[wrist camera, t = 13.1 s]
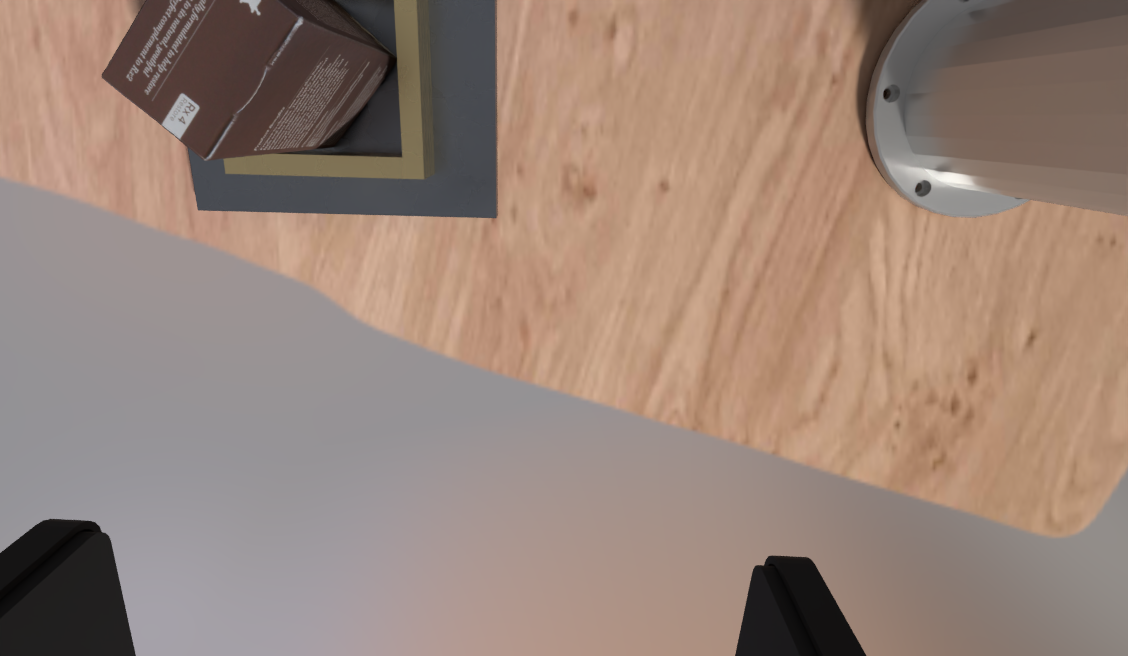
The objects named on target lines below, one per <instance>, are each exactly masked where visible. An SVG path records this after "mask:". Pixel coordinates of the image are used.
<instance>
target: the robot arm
mask: <svg viewBox="0 0 1128 656" xmlns="http://www.w3.org/2000/svg"><path fill="white" fill-rule="evenodd" d="M884 90H886V93H887V95H886V97H885V98H883V92H884ZM866 129H867V136H868V143H869V147H870V150H871V153H872V156H873V158H874V161H875V164H876V166H877V168H878V169H879V171H880V173H881V174H882V176H883V177H884V179H885V181H886V182H887V183H888V184H889V185H890V186H891V187H892V188H893V189H894V190H895V191H896V192H897V193H898V194H899V195H900V196H901V197H902V198H904V199H905V200H907V201H909V202H910V203H912V204H913V205H915V206H917V207H919V208H922V209H925V210H928V211H931V212H933V213H937V214H942V215H947V216H951V217H968V218H976V217H982V216H988V215H994V214H998V213H1001V212H1004V211H1007V210H1010V209H1013V208H1016V207H1018V206H1020V205H1022V204H1024V203H1026V202H1028V201H1030V200H1034V201H1040V202H1046V203H1052V204H1058V205H1064V206H1070V207H1076V208H1082V209H1088V210H1094V211H1100V212H1105V213H1111V214H1117V215H1123V216H1128V0H922V1H921V2H919V3H918V4H917V5H916V6H915V7H914V8H913V9H912V10H911V11H910V12H909V13H908V15H907V16H906V17H905V18H904V19H903V21H902V22H901V23H900V24H899V25H898V26H897V28H896V29H895V31H894V32H893V34H892V36H891V37H890V39H889V41H888V42H887V44H886V46H885V47H884V49H883V51H882V52H881V55H880V57H879V60H878V62H877V65H876V67H875V70H874V72H873V75H872V79H871V83H870V88H869V92H868V97H867V107H866ZM916 185H918V187H917V189H916V190H915V188H916ZM0 656H136V655H135V650H134V646H133V642H132V637H131V632H130V628H129V623H128V618H127V613H126V609H125V604H124V600H123V595H122V591H121V586H120V581H119V577H118V572H117V568H116V563H115V558H114V554H113V549H112V544H111V540H110V538H109V536H108V535H107V534H106V533H102V532H101V529H100V527H99V526H98V525H97V524H96V523H95V522H92V521H81V520H61V519H49V520H44V521H42V522H40V523H39V524H37V525H35V526H34V527H33V528H32V529H30V530H29V531H28V532H27V533H25V534H24V535H23V536H21V537H20V538H19V539H18V540H16V541H15V542H14V543H12V544H11V545H10V546H9V547H8V548H6V549H5V550H4V551H2V552H1V553H0ZM735 656H866V654H865V653H864V651H863V649H862V647H861V645H860V644H859V642H858V640H857V638H856V637H855V635H854V633H853V631H852V629H851V628H850V626H849V624H848V622H847V621H846V619H845V617H844V615H843V613H842V612H841V610H840V609H839V607H838V605H837V603H836V601H835V599H834V598H833V596H832V594H831V592H830V591H829V589H828V587H827V585H826V583H825V582H824V580H823V578H822V576H821V575H820V573H819V571H818V569H817V568H816V566H815V564H814V563H813V561H812V560H811V559H809V558H807V557H790V556H769V557H768V558H767V559H766V561H765V564H764V566H762V565H757V566H755V568H754V569H753V573H752V577H751V582H750V587H749V592H748V597H747V601H746V606H745V611H744V616H743V621H742V625H741V631H740V635H739V640H738V645H737V650H736V654H735Z"/></svg>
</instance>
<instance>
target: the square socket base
mask: <svg viewBox="0 0 1128 656" xmlns="http://www.w3.org/2000/svg"><path fill="white" fill-rule="evenodd" d="M334 1H335V2H336V3H337V4H338V5H339V6H341V7H342V8H343V9H344V10H345V11H346V12H347V13H348V14H349V15H350V16H352V17H353V18H354V19H355V20H356V21H357V22H358V23H359V24H360V25H361V26H362V27H364V28H365V29H366V30H368V31H369V32H370V33H371V34H372V35H373V36H374V37H375V38H376V39H377V40H379V41H380V42H381V43H382V44H383V45H384V46H386V47H387V48H388V49H389V50H390V51H391V52H392V53H393V54H394V55H395V56H396V57H397V62H396V63H395V65H394V66H393V67H392V69H391V70H390V72H389V73H388V75H387V76H386V77H385V79H384V80H383V81H382V83H381V84H380V86H379V87H378V88H377V90H376V91H375V92H374V94H373V95H372V97H371V98H370V99H369V101H368V102H367V103H366V105H365V106H364V108H363V109H362V110H361V112H360V113H359V114H358V116H357V117H356V118H355V119H354V121H353V122H352V124H351V125H350V126H349V128H348V129H347V130H346V132H345V133H344V134H343V136H342V137H341V138H340V140H339V141H338V142H337V144H336V145H335V146H334V147H332V148H323V149H312V150H304V151H294V152H282V153H275V154H265V155H256V156H245V157H236V158H226V159H217V160H210V161H204V160H202V159H201V158H200V157H199V156H198V155H197V154H195V153H194V152H193V151H192V150H191V149H189V148H188V152H189V158H190V164H191V170H192V176H193V183H194V189H195V195H196V201H197V207H198V210H208V211H246V212H284V213H322V214H361V215H399V216H437V217H476V218H496V217H497V216H498V194H497V0H334Z"/></svg>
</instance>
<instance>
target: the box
mask: <svg viewBox="0 0 1128 656" xmlns="http://www.w3.org/2000/svg"><path fill="white" fill-rule="evenodd" d="M396 62H397V57H396V56H395V55H394V54H393V53H392V52H391V51H390V50H389V49H388V48H387V47H386V46H384V45H383V44H382V43H381V42H380V41H379V40H377V39H376V38H375V37H374V36H373V35H372V34H371V33H370V32H369V31H368V30H366V29H365V28H364V27H362V26H361V25H360V24H359V23H358V22H357V21H356V20H355V19H354V18H353V17H352V16H350V15H349V14H348V13H347V12H346V11H345V10H344V9H343V8H342V7H341V6H339V5H338V4H337V3H336V2H335V1H334V0H146V1H145V3H144V5H143V6H142V8H141V10H140V11H139V13H138V15H137V16H136V18H135V20H134V22H133V23H132V25H131V27H130V29H129V30H128V32H127V34H126V35H125V37H124V38H123V40H122V42H121V44H120V45H119V47H118V49H117V50H116V52H115V54H114V56H113V57H112V59H111V60H110V62H109V64H108V66H107V68H106V69H105V70H104V72H103V74H102V78H103V79H104V80H105V81H106V82H108V83H109V84H110V85H111V86H113V87H114V88H115V89H116V90H118V91H119V92H120V93H121V94H122V95H124V96H125V97H126V98H128V99H129V100H130V101H131V102H133V103H134V104H135V105H136V106H138V107H139V108H140V109H142V110H143V111H144V112H145V113H147V114H148V115H149V116H150V117H152V118H153V119H154V120H156V121H157V122H158V123H159V124H160V125H162V126H163V127H164V128H165V129H166V130H168V131H169V132H170V133H171V134H173V135H174V136H175V137H176V138H177V139H179V140H180V141H181V142H182V143H183V144H185V145H186V146H187V147H188V148H189V149H191V150H192V151H193V152H194V153H195V154H197V155H198V156H199V157H200V158H201V159H202V160H204V161H210V160H217V159H226V158H236V157H245V156H256V155H265V154H275V153H282V152H294V151H304V150H312V149H323V148H332V147H334V146H335V145H336V144H337V142H338V141H339V140H340V138H341V137H342V136H343V134H344V133H345V132H346V130H347V129H348V128H349V126H350V125H351V124H352V122H353V121H354V119H355V118H356V117H357V116H358V114H359V113H360V112H361V110H362V109H363V108H364V106H365V105H366V103H367V102H368V101H369V99H370V98H371V97H372V95H373V94H374V92H375V91H376V90H377V88H378V87H379V86H380V84H381V83H382V81H383V80H384V79H385V77H386V76H387V75H388V73H389V72H390V70H391V69H392V67H393V66H394V65H395V63H396Z"/></svg>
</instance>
